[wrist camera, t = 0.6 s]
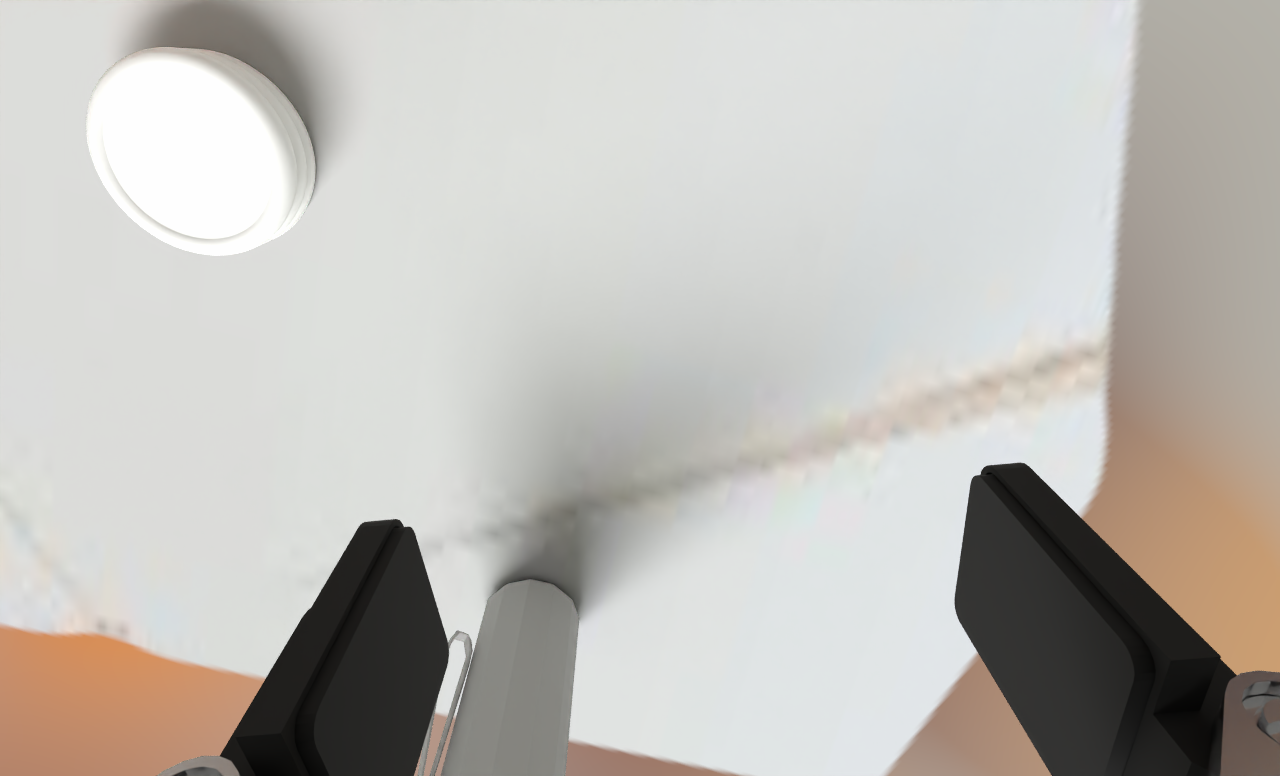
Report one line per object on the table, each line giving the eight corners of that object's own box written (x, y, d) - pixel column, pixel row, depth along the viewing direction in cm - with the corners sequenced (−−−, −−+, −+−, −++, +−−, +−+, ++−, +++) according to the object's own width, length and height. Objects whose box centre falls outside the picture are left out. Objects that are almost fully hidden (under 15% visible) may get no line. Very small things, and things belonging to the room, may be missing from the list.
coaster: (236, 276, 39) (202, 293, 36) (89, 129, 36) (36, 134, 33) (357, 173, 37) (332, 182, 34) (212, 5, 33) (168, -3, 30)
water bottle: (600, 595, 50) (578, 1028, 27) (549, 661, 52) (491, 1104, 30) (490, 543, 48) (365, 968, 25) (443, 615, 50) (292, 1056, 28)
